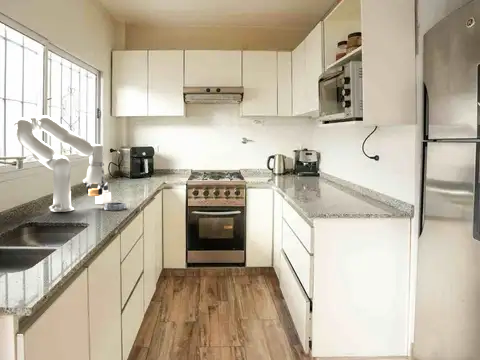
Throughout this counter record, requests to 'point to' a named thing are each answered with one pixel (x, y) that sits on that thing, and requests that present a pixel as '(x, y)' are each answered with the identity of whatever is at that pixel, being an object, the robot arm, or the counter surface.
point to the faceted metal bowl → (115, 206)
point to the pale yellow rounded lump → (93, 192)
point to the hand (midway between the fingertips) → (94, 194)
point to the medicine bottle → (104, 196)
